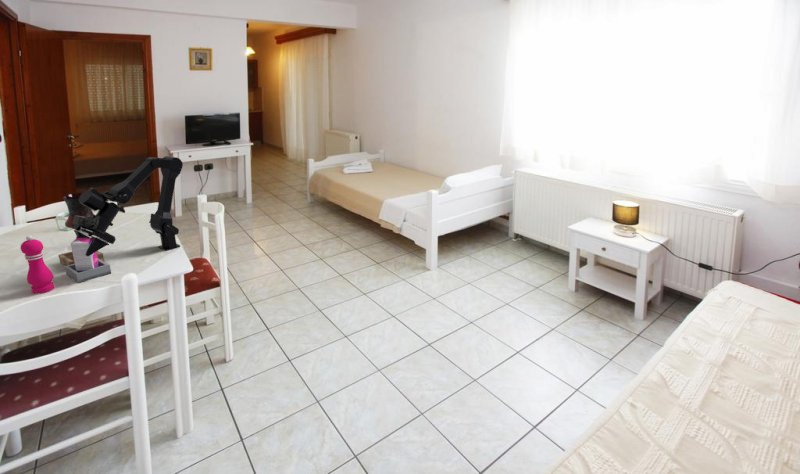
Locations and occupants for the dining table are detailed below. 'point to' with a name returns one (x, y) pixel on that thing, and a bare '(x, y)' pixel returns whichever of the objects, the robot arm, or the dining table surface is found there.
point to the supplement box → (83, 255)
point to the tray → (88, 272)
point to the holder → (69, 259)
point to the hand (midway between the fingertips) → (80, 253)
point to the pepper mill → (37, 266)
